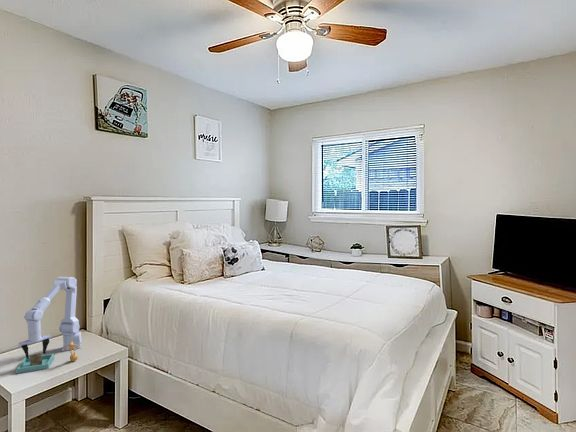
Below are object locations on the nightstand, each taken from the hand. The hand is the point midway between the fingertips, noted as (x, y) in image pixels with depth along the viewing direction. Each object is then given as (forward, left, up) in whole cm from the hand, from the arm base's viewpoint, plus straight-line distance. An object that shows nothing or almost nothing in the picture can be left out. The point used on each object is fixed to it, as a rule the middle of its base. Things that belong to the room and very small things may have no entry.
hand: (36, 355), depth 195 cm
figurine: (-18, +3, -6) cm, 19 cm away
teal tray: (0, 0, -5) cm, 5 cm away
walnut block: (0, 0, -5) cm, 5 cm away
